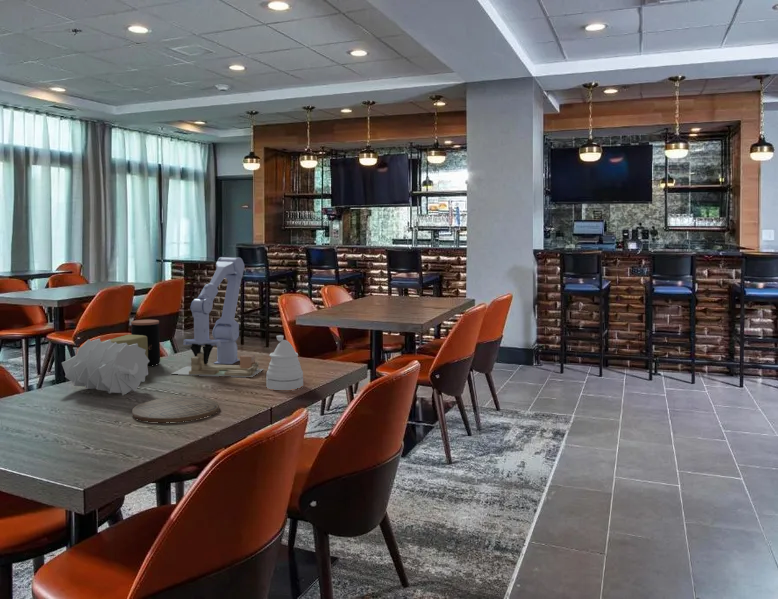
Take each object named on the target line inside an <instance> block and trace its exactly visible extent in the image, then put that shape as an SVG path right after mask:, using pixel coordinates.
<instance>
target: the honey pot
mask: <svg viewBox="0 0 778 599" xmlns="http://www.w3.org/2000/svg"><path fill="white" fill-rule="evenodd" d="M276 340H277V341H278V342H279V343H278V344H277V345H276V347H275V349H274V351H273V352H271V353H270V354H269V356H268V357H270V358H271V359H270V362H269V363H268V364H269V365H268V368H267V369H268V370H267V371H266V372H265V373H266V374H265V375H266V379H265V380H266V381H265V382H266V384H265V386H266V387H267V388H269V389H274V390H291V389H297V388H300V387H301V386H303V387H304V372H303V369H302V365H301V362H300V361H299V358H298V357H299V354H298V352H296V350H295V348H294V347H293V345H292V344H291V343H290V341H288V340H287V339H284V335H282V334H281V335H280V334H279V335H276ZM267 388H266V389H267ZM269 389H268V390H269Z"/></svg>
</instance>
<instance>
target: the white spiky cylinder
mask: <svg viewBox="0 0 778 599" xmlns="http://www.w3.org/2000/svg"><path fill="white" fill-rule="evenodd" d="M103 341H104V342H101V338H96V339H93V340H90V339H89V338H88V339H87V340H86V341H85V342H84V344H82V346H81V347H80V346H78V349H77V353H76V355H74V356H72V357H70V358H69V359H66V360H65V361H62V362H61V366H62V368H63V371H64V373H65V375H64V378H66V379H67V380H68V381H70V382H71V383H73V386H74V387H85V389H87V390H88V389H96V390H98V391H106V392H107V394H112V393H116V394H117V393H119V394H121V396H124V395H123V394H125V395H127V393H128V394H129V392H132V391H133V392H136V391H137V389H138V387H139V386H140V384H141V383H142V382H145V380H146V376H148V375H149V370H148V369H149V367H148V368H147V364H148V363H149V362H150V361H149V359H148V358H147V356H146V355H145V351H146V350H145V349H143V348H140V347H138V344H137V343H136V344H133V345H129V346H128V344H127V343H122V344H117V343H116V342H115V343H112V342H111V340H110V339H107V341H106V340H103Z"/></svg>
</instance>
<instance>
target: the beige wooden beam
mask: <svg viewBox="0 0 778 599" xmlns="http://www.w3.org/2000/svg"><path fill="white" fill-rule="evenodd" d="M197 356H201V358H202V369H219V370H247V369H248V368H240V364H238V365H237V364H214V363H213V364H211V363H207V364H204V352H203V351H201V352H200V353H198V354H197ZM252 367H254V371H255V370H257V369H259V362H258V361H255V363H253V364H252Z"/></svg>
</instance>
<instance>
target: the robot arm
mask: <svg viewBox="0 0 778 599" xmlns="http://www.w3.org/2000/svg"><path fill="white" fill-rule="evenodd" d="M215 268H216V269H215V271H214V274H213V276H212V277H211V279H210V281H209V283H206V284H205V285H204V286H203V288H202V289H201V291H200V294H198V296H197V298H194V299H193V300H192V301H191V303H190V306H189V309H190V311H191V314H192V318H193V336H194V337H193V338H192V339H191V338H190V339H187V338H186V339H183V341H182V344H183V346H190V350H191V351H192V353H193V355H194V356H193V357H195V356H197V354H198V353H200V352H204V364H209V358H210V354H211V352H212V351H213V348H214V346H215V347H216V357H217V359H216V361H214V362H213V364H215V365H234V364H235V363H237V362H240V358H238V344H237V340H238V338H239V336H240V323H238V321H236V320H235V316H236V310H237V306H238V305H237V304H238V299H239V294H240V290H241V289H240V288H241V284H242V279H243V277H244V271H245V263H244V260H243V258H241V257H239V256H238V257H228V256H226V257H224V256H220V257H218V259H217V261H216V263H215ZM224 279H226V280H227V285H226V290H225V295H224V300H223V301H224V302H223V307H222V311H221V317H220V318H218V319H217V320H216V321H215V322H214V326H213V329H212V332H211V335H212V338H213V339H211V338H210V313H211V311H212V310H213V304H214V302H213V301H214V300H215V298H216V297H217V295H218V293H219V289H218V287H219V286H220V285H221V283H222V282H223V280H224ZM201 349H202V350H203V351H202V350H201Z"/></svg>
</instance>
